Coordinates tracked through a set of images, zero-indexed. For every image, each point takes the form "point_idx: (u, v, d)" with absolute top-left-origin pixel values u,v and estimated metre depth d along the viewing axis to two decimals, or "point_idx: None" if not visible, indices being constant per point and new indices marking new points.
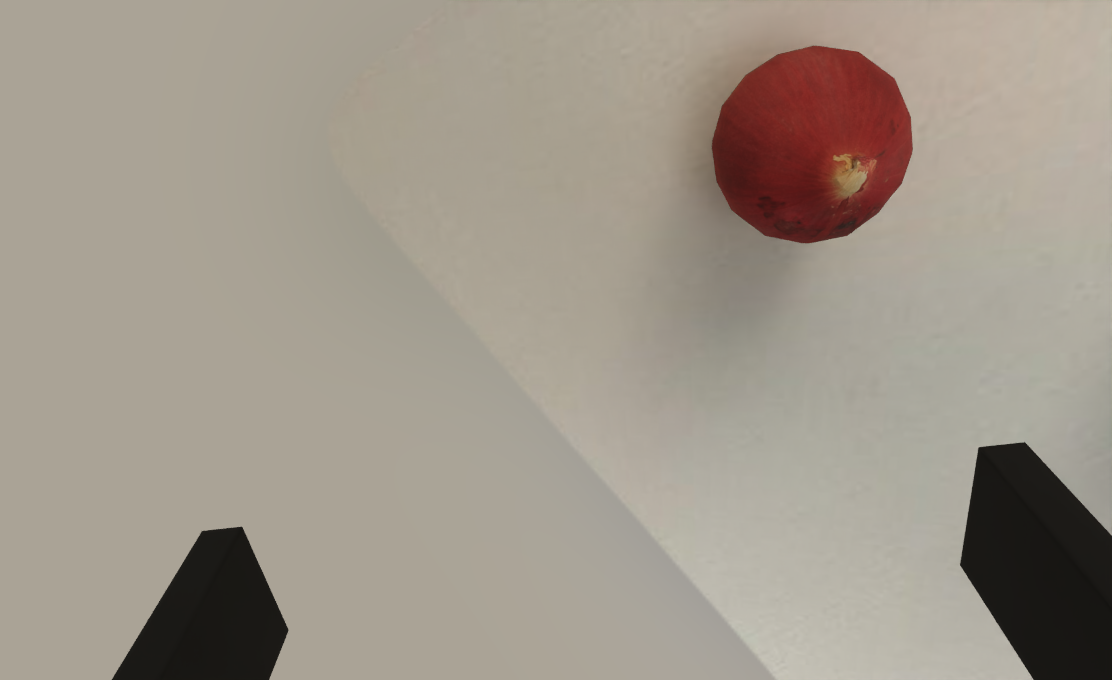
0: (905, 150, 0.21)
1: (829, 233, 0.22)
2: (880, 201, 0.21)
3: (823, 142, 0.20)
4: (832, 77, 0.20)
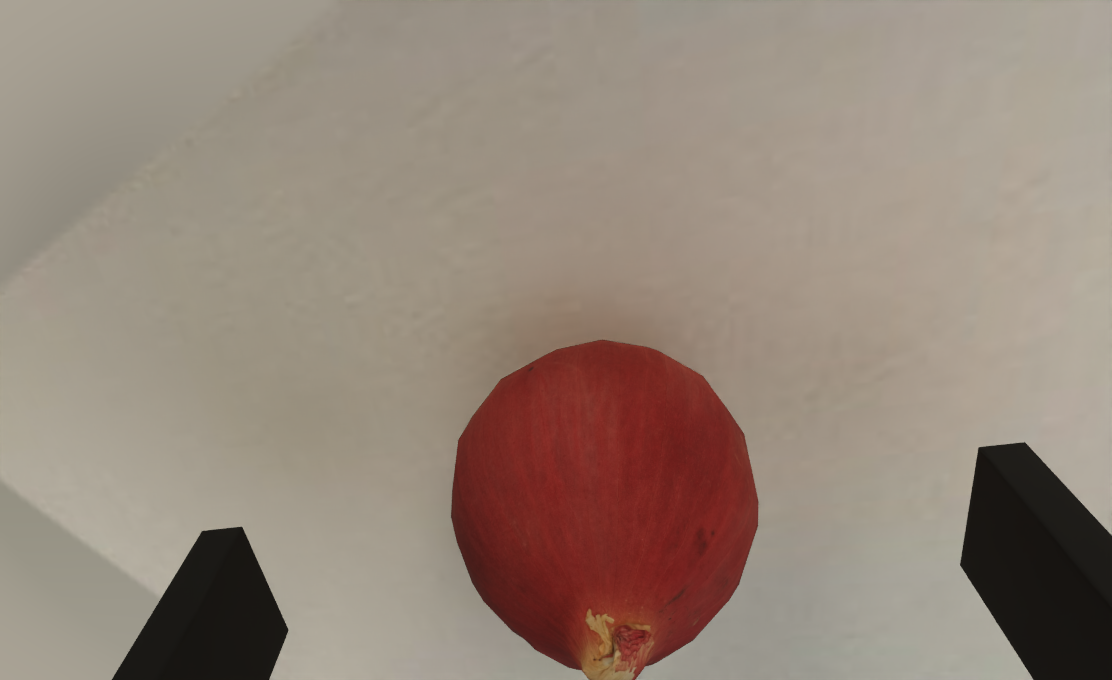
0: (732, 561, 0.12)
1: None
2: (693, 638, 0.12)
3: (573, 581, 0.11)
4: (599, 452, 0.12)
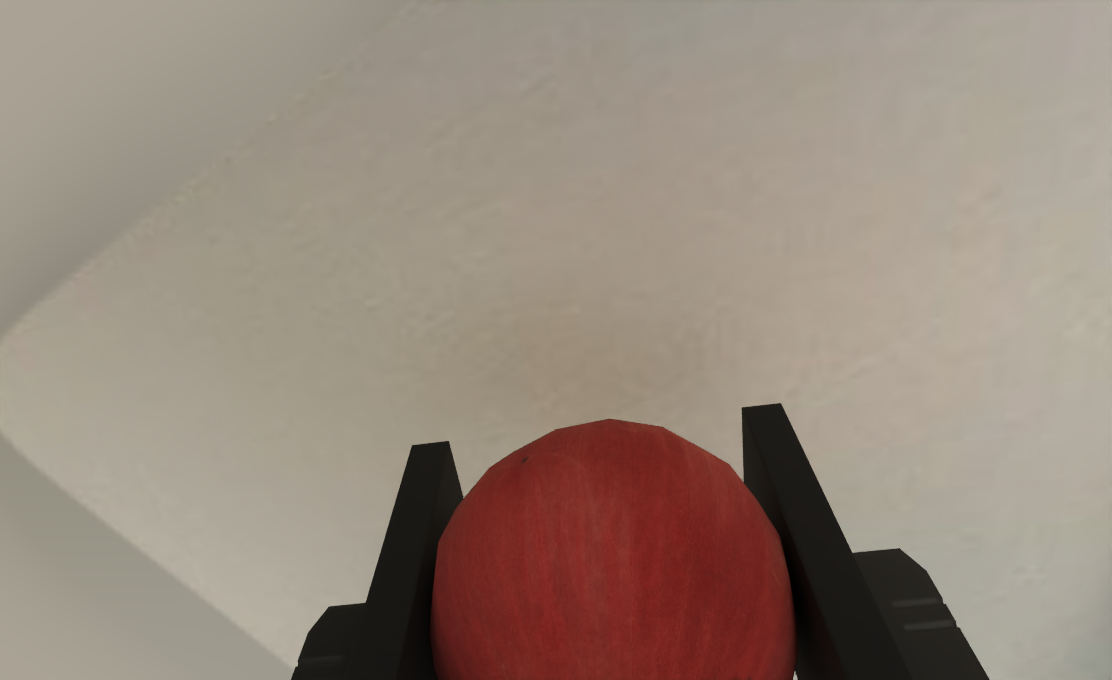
0: None
1: None
2: None
3: None
4: (607, 580, 0.09)
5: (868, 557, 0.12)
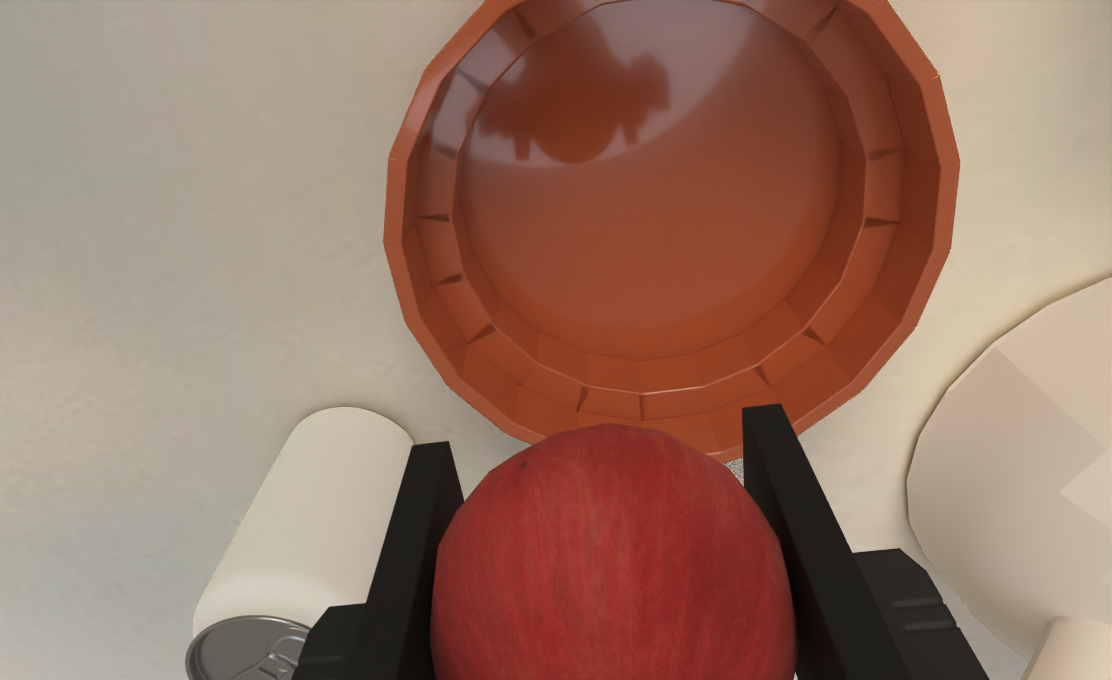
0: None
1: None
2: None
3: None
4: (607, 586, 0.09)
5: (868, 557, 0.11)
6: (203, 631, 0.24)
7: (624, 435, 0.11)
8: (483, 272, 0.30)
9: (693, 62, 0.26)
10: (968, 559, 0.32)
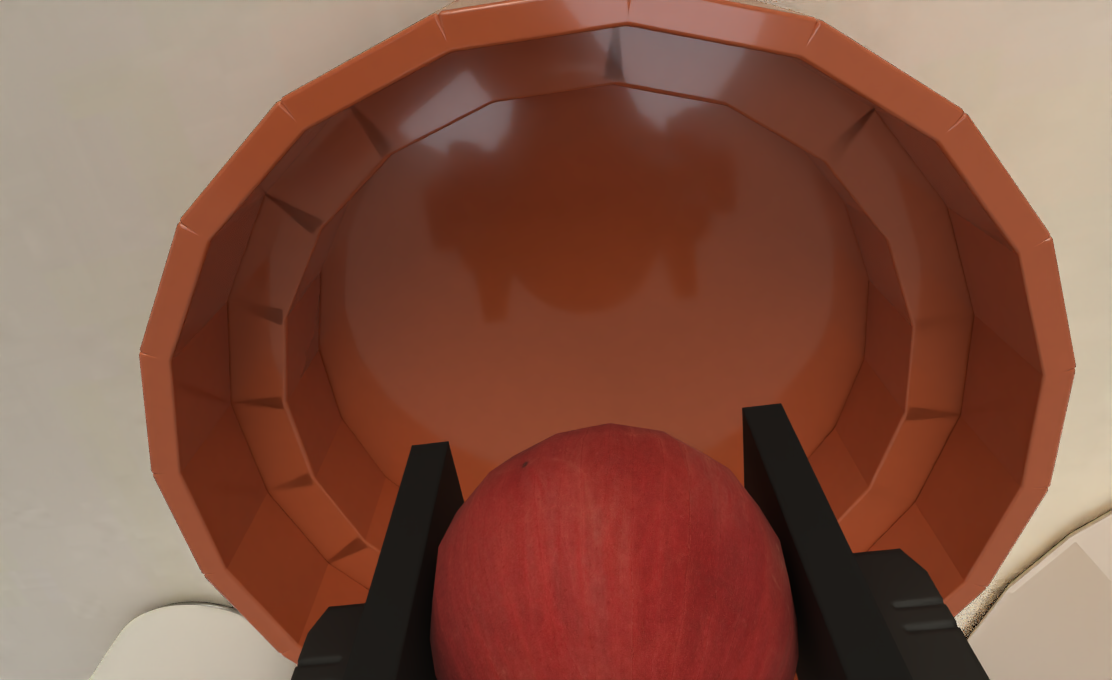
0: None
1: None
2: None
3: None
4: (607, 586, 0.09)
5: (868, 557, 0.11)
6: None
7: (625, 435, 0.11)
8: (358, 450, 0.21)
9: (651, 171, 0.18)
10: None
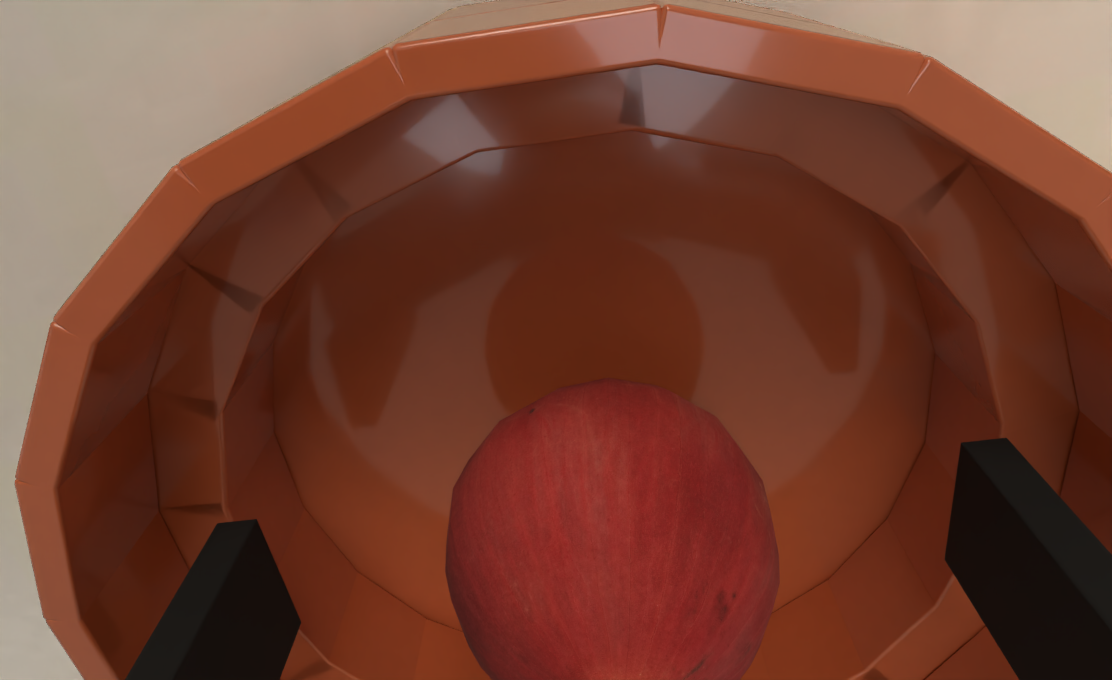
0: (754, 625, 0.11)
1: None
2: None
3: (580, 653, 0.10)
4: (608, 506, 0.11)
5: None
6: None
7: (622, 385, 0.13)
8: (324, 545, 0.18)
9: (674, 226, 0.14)
10: None
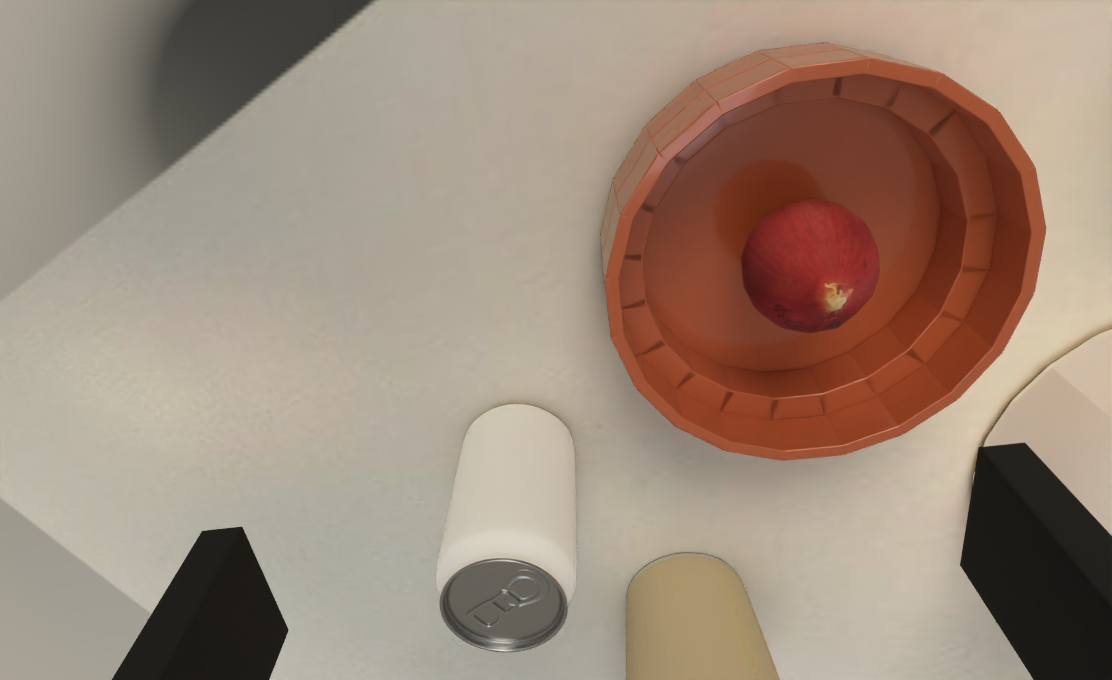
0: (874, 277, 0.31)
1: (822, 329, 0.32)
2: (856, 310, 0.31)
3: (818, 274, 0.30)
4: (825, 229, 0.30)
5: None
6: (461, 570, 0.31)
7: None
8: (649, 299, 0.38)
9: (832, 142, 0.34)
10: None
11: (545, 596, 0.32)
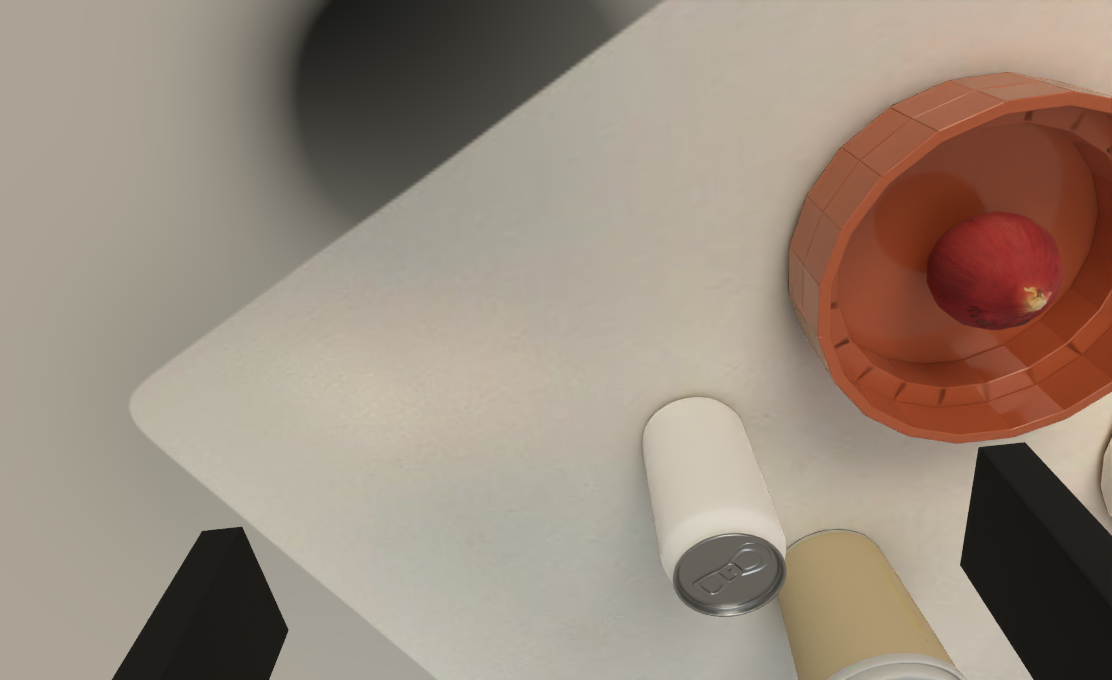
0: (1061, 280, 0.35)
1: (1010, 327, 0.36)
2: None
3: (1017, 279, 0.34)
4: (1020, 239, 0.35)
5: None
6: (697, 544, 0.36)
7: None
8: None
9: (1006, 159, 0.38)
10: None
11: (765, 566, 0.37)
